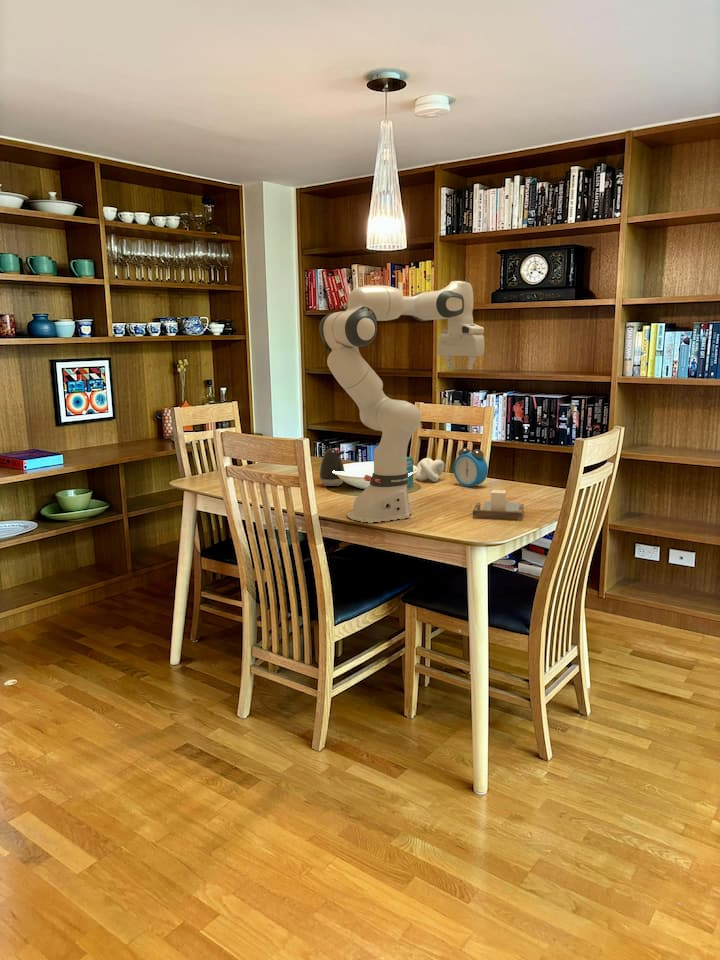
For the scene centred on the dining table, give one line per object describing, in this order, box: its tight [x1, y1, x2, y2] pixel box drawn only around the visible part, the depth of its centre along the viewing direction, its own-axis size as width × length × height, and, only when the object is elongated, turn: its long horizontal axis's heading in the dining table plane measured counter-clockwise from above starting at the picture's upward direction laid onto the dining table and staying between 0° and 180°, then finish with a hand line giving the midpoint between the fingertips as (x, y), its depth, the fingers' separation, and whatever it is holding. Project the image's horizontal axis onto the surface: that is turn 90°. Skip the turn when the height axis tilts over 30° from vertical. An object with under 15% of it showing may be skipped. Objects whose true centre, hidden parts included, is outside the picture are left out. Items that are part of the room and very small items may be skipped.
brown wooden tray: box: [472, 502, 525, 522], centre depth 242 cm, size 12×15×4 cm
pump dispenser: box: [319, 448, 345, 487], centre depth 298 cm, size 10×10×15 cm
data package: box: [407, 456, 414, 489], centre depth 291 cm, size 12×4×12 cm, turn 147°
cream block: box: [490, 489, 507, 511], centre depth 240 cm, size 4×4×8 cm
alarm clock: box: [452, 447, 489, 488], centre depth 293 cm, size 13×6×15 cm, turn 44°
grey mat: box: [481, 500, 521, 512], centre depth 254 cm, size 12×12×2 cm
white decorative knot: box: [415, 457, 445, 483], centre depth 304 cm, size 11×12×9 cm
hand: (460, 369), depth 260 cm, fingers open, 8 cm apart
